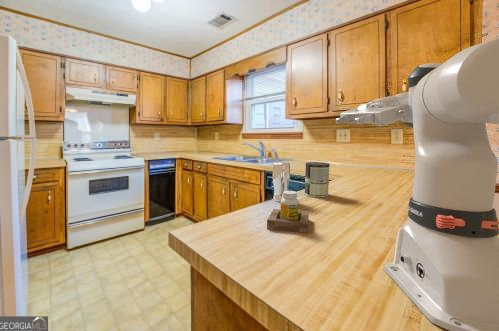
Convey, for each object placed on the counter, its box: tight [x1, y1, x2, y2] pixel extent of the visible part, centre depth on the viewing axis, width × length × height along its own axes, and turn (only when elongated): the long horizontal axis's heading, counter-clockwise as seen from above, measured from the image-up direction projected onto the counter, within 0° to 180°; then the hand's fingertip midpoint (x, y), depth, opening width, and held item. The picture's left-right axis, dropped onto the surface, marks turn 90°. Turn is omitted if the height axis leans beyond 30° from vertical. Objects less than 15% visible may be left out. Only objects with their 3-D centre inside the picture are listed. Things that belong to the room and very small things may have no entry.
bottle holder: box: [266, 208, 310, 234], centre depth 73 cm, size 11×11×2 cm
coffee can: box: [304, 161, 331, 198], centre depth 110 cm, size 10×10×14 cm
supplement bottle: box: [280, 190, 300, 220], centre depth 73 cm, size 5×5×10 cm
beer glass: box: [272, 162, 291, 203], centre depth 100 cm, size 7×7×15 cm
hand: (346, 121), depth 78 cm, fingers open, 8 cm apart
